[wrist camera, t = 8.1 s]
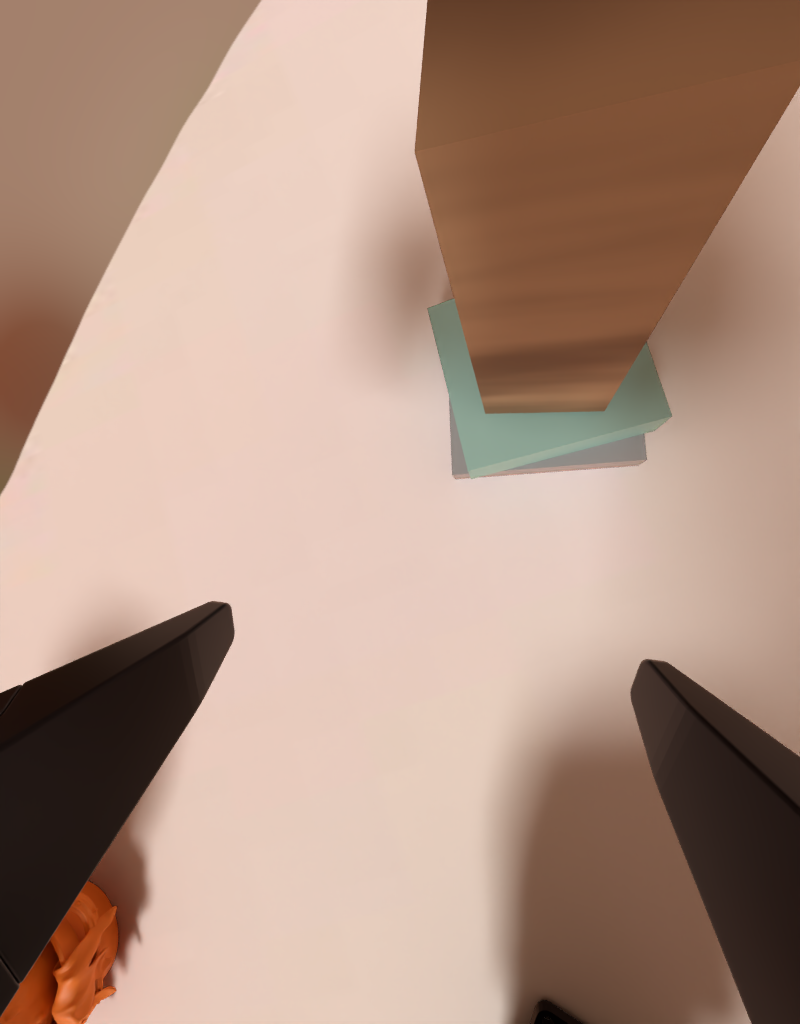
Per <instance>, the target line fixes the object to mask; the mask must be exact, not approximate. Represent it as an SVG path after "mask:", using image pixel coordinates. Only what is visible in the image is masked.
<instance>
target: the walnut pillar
mask: <svg viewBox="0 0 800 1024" xmlns="http://www.w3.org/2000/svg"><path fill="white" fill-rule="evenodd" d="M799 86H800V0H428V1H427V13H426V25H425V36H424V48H423V60H422V72H421V83H420V95H419V107H418V119H417V130H416V142H415V155H416V158H417V162H418V166H419V170H420V173H421V177H422V181H423V184H424V188H425V192H426V196H427V199H428V203H429V207H430V210H431V214H432V218H433V222H434V225H435V229H436V233H437V236H438V240H439V244H440V248H441V251H442V255H443V259H444V262H445V266H446V270H447V273H448V277H449V281H450V285H451V288H452V292H453V296H454V299H455V303H456V307H457V311H458V314H459V318H460V322H461V325H462V329H463V333H464V337H465V340H466V344H467V348H468V351H469V355H470V359H471V363H472V366H473V370H474V374H475V377H476V381H477V385H478V389H479V392H480V396H481V400H482V403H483V407H484V411H485V414H500V413H548V412H596V411H605V410H606V408H607V406H608V405H609V403H610V401H611V400H612V398H613V396H614V395H615V393H616V391H617V390H618V388H619V386H620V385H621V383H622V381H623V380H624V378H625V376H626V375H627V373H628V371H629V370H630V368H631V366H632V365H633V363H634V361H635V360H636V358H637V356H638V355H639V353H640V351H641V350H642V348H643V346H644V345H645V343H646V341H647V340H648V338H649V336H650V335H651V333H652V331H653V330H654V328H655V326H656V325H657V323H658V321H659V320H660V318H661V316H662V315H663V313H664V311H665V310H666V308H667V306H668V305H669V303H670V301H671V300H672V298H673V296H674V295H675V293H676V291H677V290H678V288H679V286H680V285H681V283H682V281H683V280H684V278H685V276H686V275H687V273H688V271H689V270H690V268H691V266H692V265H693V263H694V261H695V260H696V258H697V256H698V255H699V253H700V251H701V250H702V248H703V246H704V245H705V243H706V241H707V240H708V238H709V236H710V235H711V233H712V231H713V230H714V228H715V226H716V225H717V223H718V221H719V220H720V218H721V216H722V215H723V213H724V211H725V210H726V208H727V206H728V205H729V203H730V201H731V200H732V198H733V196H734V195H735V193H736V191H737V190H738V188H739V186H740V185H741V183H742V181H743V180H744V178H745V176H746V175H747V173H748V171H749V170H750V168H751V166H752V165H753V163H754V161H755V160H756V158H757V156H758V155H759V153H760V151H761V150H762V148H763V146H764V145H765V143H766V141H767V140H768V138H769V136H770V135H771V133H772V131H773V130H774V128H775V126H776V125H777V123H778V121H779V120H780V118H781V116H782V115H783V113H784V111H785V110H786V108H787V106H788V105H789V103H790V101H791V100H792V98H793V96H794V95H795V93H796V91H797V90H798V88H799Z"/></svg>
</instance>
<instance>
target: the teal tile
mask: <svg viewBox="0 0 800 1024" xmlns="http://www.w3.org/2000/svg"><path fill="white" fill-rule="evenodd" d="M427 309H428V313H429V317H430V321H431V325H432V329H433V333H434V337H435V341H436V345H437V349H438V353H439V357H440V361H441V365H442V369H443V373H444V377H445V381H446V385H447V389H448V393H449V397H450V401H451V405H452V409H453V413H454V417H455V421H456V425H457V429H458V433H459V437H460V441H461V445H462V449H463V453H464V457H465V461H466V465H467V469H468V472H469V475H470V477H471V479H474V478H478V477H481V476H485V475H489V474H493V473H497V472H500V471H504V470H508V469H512V468H516V467H519V466H523V465H527V464H531V463H535V462H538V461H542V460H546V459H550V458H553V457H557V456H561V455H565V454H569V453H572V452H576V451H580V450H584V449H588V448H591V447H595V446H599V445H603V444H607V443H610V442H614V441H618V440H622V439H625V438H629V437H633V436H637V435H641V434H644V433H648V432H652V431H655V430H656V429H657V428H658V427H660V426H661V425H662V424H663V423H664V422H666V421H667V420H668V419H669V418H671V417H672V414H671V411H670V408H669V406H668V403H667V400H666V397H665V394H664V391H663V388H662V385H661V382H660V380H659V377H658V374H657V371H656V368H655V365H654V362H653V359H652V356H651V354H650V351H649V348H648V345H647V342H646V343H645V345H644V346H643V348H642V350H641V351H640V353H639V355H638V356H637V358H636V360H635V361H634V363H633V365H632V366H631V368H630V370H629V371H628V373H627V375H626V376H625V378H624V380H623V381H622V383H621V385H620V386H619V388H618V390H617V391H616V393H615V395H614V396H613V398H612V400H611V401H610V403H609V405H608V406H607V408H606V410H605V411H596V412H548V413H500V414H485V411H484V407H483V403H482V400H481V396H480V392H479V389H478V385H477V381H476V377H475V374H474V370H473V366H472V363H471V359H470V355H469V351H468V348H467V344H466V340H465V337H464V333H463V329H462V325H461V322H460V318H459V314H458V311H457V307H456V303H455V299H451V300H448V301H446V302H443V303H440V304H438V305H435V306H432V307H430V308H427Z"/></svg>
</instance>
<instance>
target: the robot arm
mask: <svg viewBox="0 0 800 1024" xmlns="http://www.w3.org/2000/svg"><path fill="white" fill-rule="evenodd" d="M233 639H234V624H233V616H232V609H231V606H230V605H229V604H228V603H224V602H217V601H211V602H208V603H206V604H203V605H201V606H199V607H197V608H194V609H192V610H190V611H187V612H185V613H183V614H181V615H178V616H176V617H174V618H171V619H169V620H167V621H164V622H162V623H160V624H158V625H155V626H153V627H151V628H148V629H146V630H144V631H142V632H139V633H137V634H135V635H132V636H130V637H128V638H126V639H123V640H121V641H119V642H116V643H114V644H112V645H110V646H107V647H105V648H103V649H100V650H98V651H96V652H94V653H91V654H89V655H87V656H84V657H82V658H80V659H78V660H75V661H73V662H71V663H68V664H66V665H64V666H61V667H59V668H57V669H55V670H52V671H50V672H48V673H45V674H43V675H41V676H39V677H36V678H34V679H32V680H29V681H27V682H25V683H24V684H23V686H22V685H18V686H15V687H13V688H11V689H9V690H6V691H4V692H2V693H0V1017H1V1016H2V1014H3V1013H4V1011H5V1010H6V1008H7V1006H8V1005H9V1003H10V1002H11V1000H12V999H13V997H14V996H15V994H16V992H17V991H18V989H19V987H20V984H19V983H22V982H23V981H24V979H25V978H26V976H27V975H28V973H29V971H30V970H31V968H32V967H33V965H34V964H35V962H36V960H37V959H38V957H39V956H40V954H41V953H42V951H43V950H44V948H45V946H46V945H47V943H48V942H49V940H50V939H51V937H52V936H53V934H54V932H55V931H56V929H57V928H58V926H59V925H60V923H61V921H62V920H63V918H64V917H65V915H66V914H67V912H68V911H69V909H70V907H71V906H72V904H73V903H74V901H75V900H76V898H77V897H78V895H79V893H80V892H81V890H82V889H83V887H84V886H85V884H86V882H87V881H88V879H89V878H90V876H91V875H92V873H93V872H94V870H95V868H96V867H97V865H98V864H99V862H100V861H101V859H102V857H103V856H104V854H105V853H106V851H107V850H108V848H109V847H110V845H111V843H112V842H113V840H114V839H115V837H116V836H117V834H118V833H119V831H120V829H121V828H122V826H123V825H124V823H125V822H126V820H127V818H128V817H129V815H130V814H131V812H132V811H133V809H134V808H135V806H136V804H137V803H138V801H139V800H140V798H141V797H142V795H143V794H144V792H145V790H146V789H147V787H148V786H149V784H150V783H151V781H152V779H153V778H154V776H155V775H156V773H157V772H158V770H159V769H160V767H161V765H162V764H163V762H164V761H165V759H166V758H167V756H168V755H169V753H170V751H171V750H172V748H173V747H174V745H175V744H176V742H177V740H178V739H179V737H180V736H181V734H182V733H183V731H184V730H185V728H186V726H187V725H188V723H189V722H190V720H191V719H192V717H193V716H194V714H195V712H196V711H197V709H198V707H199V706H200V704H201V702H202V700H203V699H204V697H205V695H206V693H207V691H208V689H209V687H210V685H211V683H212V681H213V679H214V678H215V676H216V674H217V672H218V670H219V668H220V666H221V664H222V662H223V660H224V658H225V656H226V654H227V652H228V650H229V648H230V646H231V644H232V642H233ZM631 701H632V705H633V708H634V711H635V715H636V718H637V722H638V725H639V729H640V732H641V736H642V739H643V743H644V746H645V749H646V753H647V756H648V760H649V763H650V767H651V770H652V773H653V776H654V779H655V782H656V784H657V787H658V790H659V792H660V795H661V797H662V800H663V802H664V805H665V807H666V810H667V812H668V815H669V817H670V820H671V822H672V825H673V827H674V830H675V833H676V835H677V838H678V840H679V843H680V845H681V848H682V850H683V853H684V855H685V858H686V860H687V863H688V865H689V868H690V870H691V873H692V875H693V878H694V880H695V883H696V885H697V888H698V890H699V893H700V895H701V898H702V900H703V903H704V905H705V908H706V910H707V913H708V915H709V918H710V920H711V923H712V925H713V928H714V930H715V933H716V935H717V938H718V941H719V943H720V946H721V948H722V951H723V953H724V956H725V958H726V961H727V963H728V966H729V968H730V971H731V973H732V976H733V978H734V981H735V983H736V986H737V988H738V991H739V993H740V996H741V998H742V1001H743V1003H744V1006H745V1008H746V1011H747V1013H748V1016H749V1018H750V1021H751V1023H752V1024H800V757H799V756H798V755H797V754H795V753H794V752H792V751H791V750H790V749H788V748H787V747H785V746H784V745H783V744H781V743H780V742H778V741H777V740H776V739H774V738H773V737H771V736H770V735H769V734H767V733H766V732H764V731H763V730H762V729H760V728H759V727H757V726H756V725H755V724H753V723H752V722H750V721H749V720H748V719H746V718H745V717H743V716H742V715H740V714H739V713H738V712H736V711H735V710H733V709H732V708H731V707H729V706H728V705H726V704H725V703H724V702H722V701H721V700H719V699H718V698H717V697H715V696H714V695H712V694H711V693H710V692H708V691H707V690H705V689H704V688H703V687H701V686H700V685H698V684H697V683H696V682H694V681H693V680H691V679H690V678H689V677H687V676H686V675H684V674H683V673H682V672H680V671H679V670H677V669H676V668H675V667H673V666H672V665H670V664H669V663H667V662H665V661H658V660H651V659H645V660H643V661H642V662H641V664H640V666H639V669H638V671H637V674H636V677H635V679H634V682H633V685H632V688H631ZM544 1017H549V1018H551V1019H550V1020H547V1019H545V1018H544ZM530 1024H582V1023H581V1022H579V1021H578V1020H576V1019H575V1018H573V1017H572V1016H570V1015H569V1014H567V1013H566V1012H564V1011H563V1010H561V1009H560V1008H558V1007H557V1006H555V1005H554V1004H552V1003H551V1002H548V1001H546V1000H542V1001H540V1002H538V1003H537V1005H536V1007H535V1010H534V1013H533V1016H532V1019H531V1022H530Z"/></svg>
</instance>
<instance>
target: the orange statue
mask: <svg viewBox="0 0 800 1024" xmlns="http://www.w3.org/2000/svg"><path fill="white" fill-rule="evenodd" d="M116 910H117V906H113V907H112V905H111V903H110V901H109V899H108V898H107V896H106V895H105V894H104V893H103V891H102V890H101V889H100V888H99V887H97V886H96V885H95V884H93V883H91V882H89V881H87V882H86V884H85V886H84V887H83V889H82V890H81V892H80V893H79V895H78V897H77V898H76V900H75V901H74V903H73V904H72V906H71V907H70V909H69V911H68V912H67V914H66V915H65V917H64V918H63V920H62V921H61V923H60V925H59V926H58V928H57V929H56V931H55V932H54V934H53V936H52V937H51V939H50V940H49V942H48V943H47V945H46V946H45V948H44V950H43V951H42V953H41V954H40V956H39V957H38V959H37V960H36V962H35V964H34V965H33V967H32V968H31V970H30V971H29V973H28V975H27V976H26V978H25V979H24V981H23V982H22V983H19V984H20V987H19V989H18V991H17V992H16V994H15V996H14V997H13V999H12V1000H11V1002H10V1003H9V1005H8V1006H7V1008H6V1010H5V1011H4V1013H3V1014H2V1016H1V1017H0V1024H84V1023H85V1022H86V1021H87V1019H88V1017H89V1015H90V1014H91V1012H92V1011H93V1009H94V1008H95V1006H96V1004H99V1003H100V1001H101V1000H103V999H105V998H107V997H108V996H110V995H111V994H113V993H114V992H115V991H116V989H115V987H112V986H108V987H105V988H103V979H104V977H105V976H106V974H107V973H108V972H109V970H110V968H111V967H112V965H113V962H114V960H115V957H116V953H117V948H118V925H117V920H116V916H115V913H116ZM102 988H103V989H102Z"/></svg>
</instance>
